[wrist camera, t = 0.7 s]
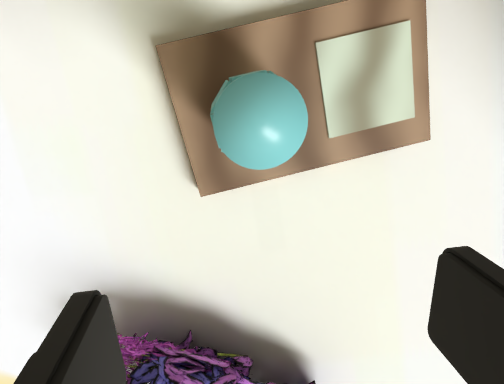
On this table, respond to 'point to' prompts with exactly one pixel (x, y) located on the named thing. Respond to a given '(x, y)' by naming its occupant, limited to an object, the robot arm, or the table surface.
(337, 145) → the post board
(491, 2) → the table surface
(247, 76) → the teal cap
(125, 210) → the table surface
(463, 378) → the robot arm
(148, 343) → the decorative ornament
